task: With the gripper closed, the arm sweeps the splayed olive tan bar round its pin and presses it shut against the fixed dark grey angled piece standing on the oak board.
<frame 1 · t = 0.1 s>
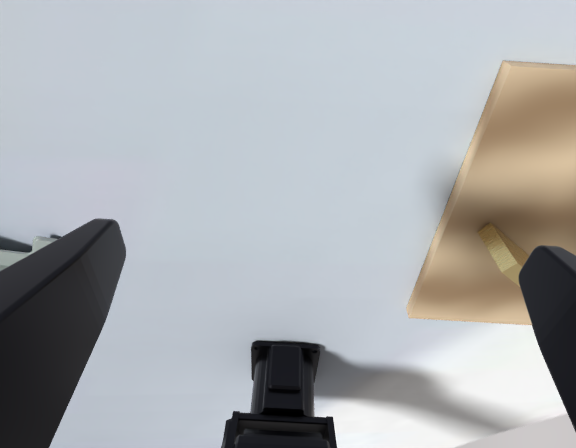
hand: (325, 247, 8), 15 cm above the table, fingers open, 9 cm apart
olive tan bar: (564, 279, 24), point 3 cm above the table, hinge at 95.0°
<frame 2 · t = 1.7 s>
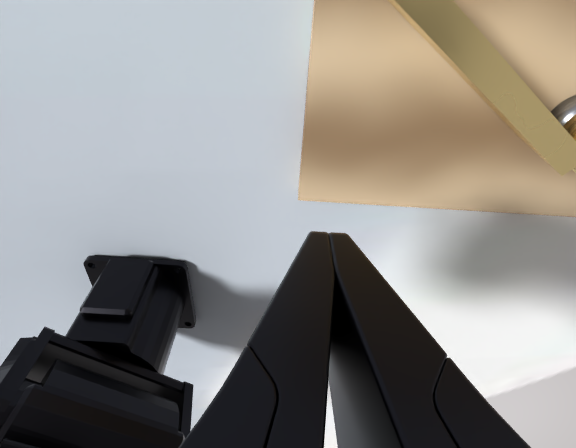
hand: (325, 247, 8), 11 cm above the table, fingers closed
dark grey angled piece: (562, 115, 17), resting on oak board
olive tan bar: (535, 73, 13), point 3 cm above the table, hinge at 95.0°
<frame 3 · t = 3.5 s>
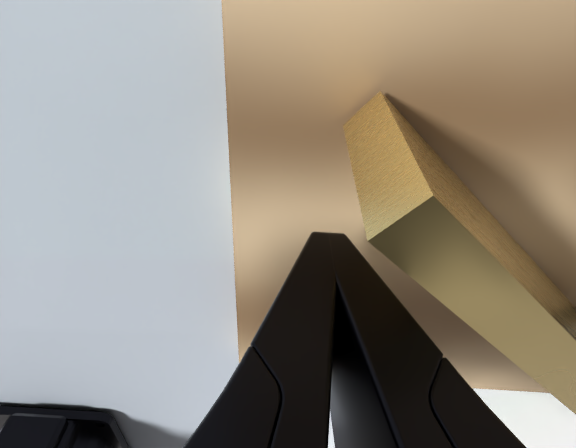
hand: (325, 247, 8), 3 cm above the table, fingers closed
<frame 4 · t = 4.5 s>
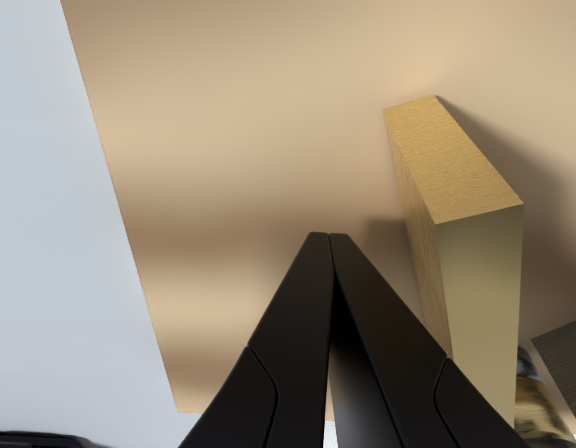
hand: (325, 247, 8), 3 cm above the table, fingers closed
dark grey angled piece: (477, 342, 14), resting on oak board
oak board: (473, 240, 11), on the table
olive tan bar: (507, 345, 9), point 3 cm above the table, hinge at 62.4°, touching gripper
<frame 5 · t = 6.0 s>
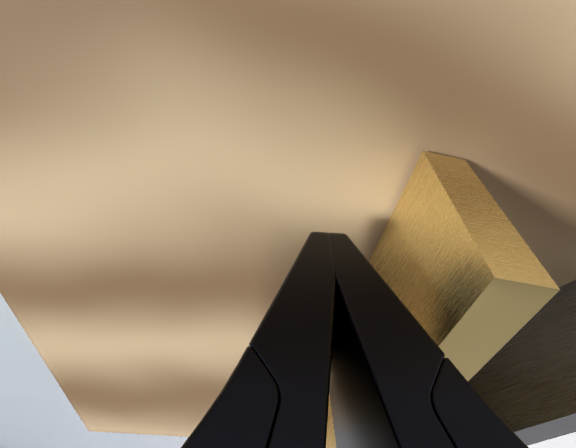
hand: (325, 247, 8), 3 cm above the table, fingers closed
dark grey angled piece: (347, 370, 16), resting on oak board
oak board: (312, 289, 13), on the table
olive tan bar: (401, 384, 10), point 3 cm above the table, hinge at 30.9°, touching gripper
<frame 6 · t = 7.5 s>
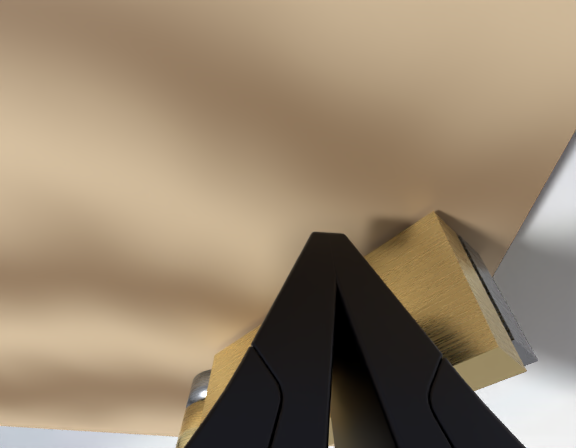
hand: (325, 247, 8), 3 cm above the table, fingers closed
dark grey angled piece: (230, 364, 16), resting on oak board
oak board: (166, 281, 13), on the table
olive tan bar: (304, 396, 11), point 3 cm above the table, hinge at -0.4°, touching gripper
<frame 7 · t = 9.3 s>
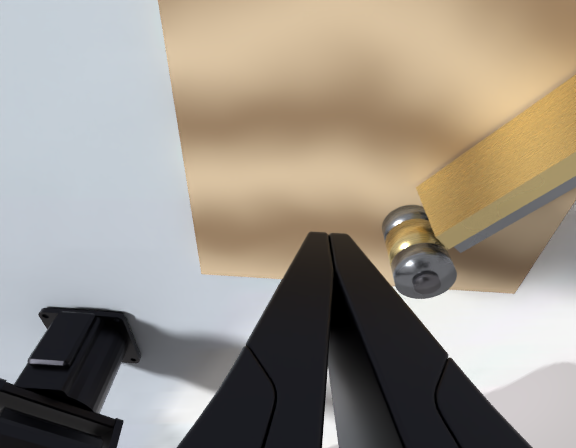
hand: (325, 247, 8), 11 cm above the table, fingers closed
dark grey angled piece: (404, 214, 21), resting on oak board
oak board: (387, 130, 18), on the table
olive tan bar: (502, 193, 16), point 3 cm above the table, hinge at -0.4°
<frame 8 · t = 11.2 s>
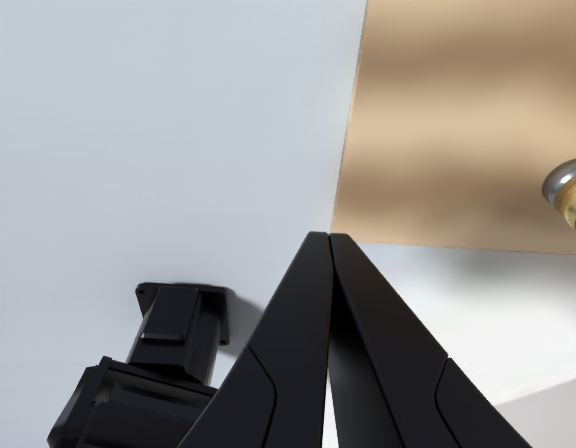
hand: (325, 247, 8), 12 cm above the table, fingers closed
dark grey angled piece: (560, 172, 20), resting on oak board
oak board: (572, 75, 17), on the table
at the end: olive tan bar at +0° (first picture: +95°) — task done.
